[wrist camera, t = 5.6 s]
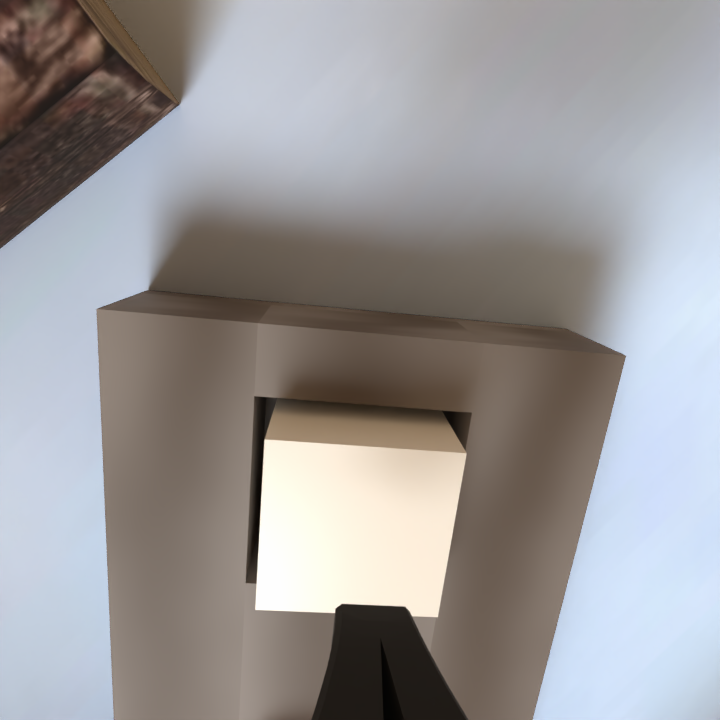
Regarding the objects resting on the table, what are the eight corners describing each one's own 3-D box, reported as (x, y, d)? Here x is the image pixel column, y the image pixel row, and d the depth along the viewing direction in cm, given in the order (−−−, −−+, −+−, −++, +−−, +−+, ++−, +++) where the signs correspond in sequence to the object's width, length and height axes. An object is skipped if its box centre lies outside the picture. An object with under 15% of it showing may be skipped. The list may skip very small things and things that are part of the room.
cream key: (440, 409, 15) (466, 453, 12) (419, 547, 16) (437, 617, 13) (277, 396, 15) (264, 439, 12) (269, 539, 16) (255, 609, 13)
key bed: (566, 328, 17) (625, 355, 13) (464, 791, 23) (488, 891, 19) (147, 290, 16) (96, 308, 12) (154, 788, 21) (121, 894, 18)
